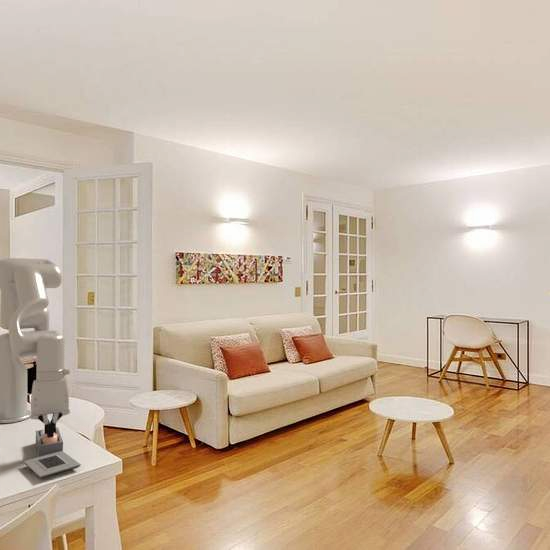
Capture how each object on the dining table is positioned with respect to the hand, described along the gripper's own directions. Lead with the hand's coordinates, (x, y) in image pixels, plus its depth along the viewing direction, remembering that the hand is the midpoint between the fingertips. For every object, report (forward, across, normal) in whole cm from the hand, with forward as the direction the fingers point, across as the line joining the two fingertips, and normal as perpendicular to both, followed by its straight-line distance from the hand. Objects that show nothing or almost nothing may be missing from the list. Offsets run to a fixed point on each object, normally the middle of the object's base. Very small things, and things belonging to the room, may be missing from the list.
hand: (50, 435), depth 138 cm
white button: (+5, 0, -7) cm, 9 cm away
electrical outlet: (+6, 0, +12) cm, 13 cm away
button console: (+5, 0, -4) cm, 6 cm away
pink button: (+4, 0, 0) cm, 4 cm away
